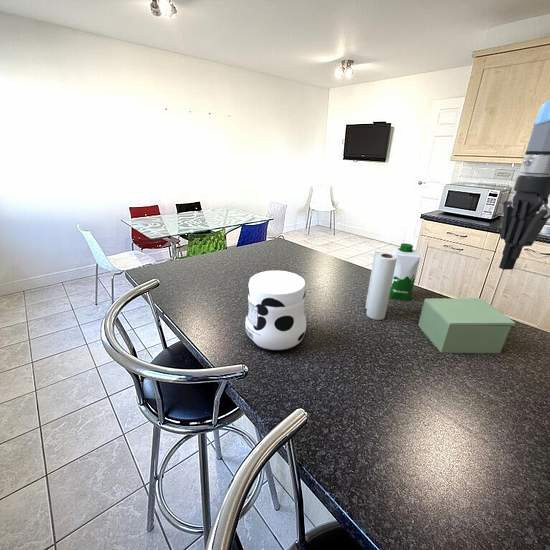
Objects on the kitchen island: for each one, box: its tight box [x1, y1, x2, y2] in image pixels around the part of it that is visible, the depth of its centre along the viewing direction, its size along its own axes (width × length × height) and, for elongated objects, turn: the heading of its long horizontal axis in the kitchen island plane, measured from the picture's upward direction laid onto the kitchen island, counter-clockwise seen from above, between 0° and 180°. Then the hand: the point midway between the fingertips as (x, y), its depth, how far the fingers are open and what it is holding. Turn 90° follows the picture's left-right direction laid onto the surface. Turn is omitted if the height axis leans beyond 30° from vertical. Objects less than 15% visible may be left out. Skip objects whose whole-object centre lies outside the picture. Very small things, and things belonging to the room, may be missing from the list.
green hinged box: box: [417, 300, 512, 354], centre depth 85 cm, size 17×14×9 cm
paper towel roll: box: [364, 250, 397, 321], centre depth 94 cm, size 7×6×21 cm
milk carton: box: [389, 242, 421, 301], centre depth 106 cm, size 9×9×20 cm
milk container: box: [244, 270, 307, 352], centre depth 81 cm, size 17×17×18 cm
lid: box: [424, 297, 516, 326], centre depth 83 cm, size 17×14×1 cm
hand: (505, 268), depth 78 cm, fingers closed
